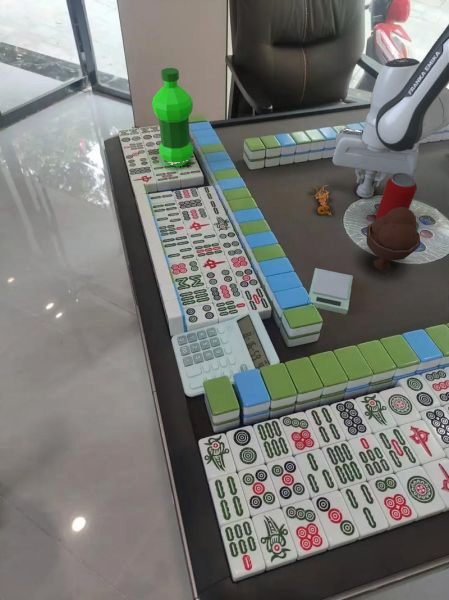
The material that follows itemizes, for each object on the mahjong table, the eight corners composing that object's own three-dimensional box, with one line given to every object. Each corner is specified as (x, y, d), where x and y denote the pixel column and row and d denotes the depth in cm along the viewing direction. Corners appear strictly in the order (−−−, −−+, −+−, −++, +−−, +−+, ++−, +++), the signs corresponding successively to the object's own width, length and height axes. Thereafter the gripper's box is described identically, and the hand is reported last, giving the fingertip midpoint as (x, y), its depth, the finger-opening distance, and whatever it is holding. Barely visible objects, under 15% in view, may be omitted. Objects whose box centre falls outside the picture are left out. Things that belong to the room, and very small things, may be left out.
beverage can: (404, 217, 108) (421, 175, 100) (400, 232, 104) (417, 190, 95) (377, 210, 110) (391, 168, 101) (372, 225, 106) (386, 182, 97)
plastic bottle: (152, 162, 125) (140, 70, 107) (180, 149, 130) (174, 60, 112) (173, 176, 120) (164, 82, 102) (202, 163, 125) (199, 71, 107)
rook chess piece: (375, 192, 115) (383, 165, 109) (369, 200, 113) (377, 173, 107) (359, 187, 117) (367, 160, 111) (353, 195, 114) (360, 168, 109)
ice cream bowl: (349, 253, 99) (366, 198, 88) (397, 251, 100) (419, 196, 89) (362, 286, 92) (382, 231, 81) (413, 283, 93) (440, 228, 82)
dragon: (314, 217, 108) (317, 205, 105) (310, 191, 116) (312, 179, 113) (332, 218, 108) (335, 205, 105) (326, 192, 116) (329, 180, 113)
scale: (350, 283, 93) (353, 273, 90) (345, 318, 86) (348, 307, 84) (313, 276, 94) (315, 265, 92) (305, 309, 88) (308, 298, 85)
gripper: (336, 133, 102) (326, 183, 113) (426, 145, 98) (407, 197, 109) (339, 121, 106) (329, 171, 117) (425, 132, 102) (407, 183, 113)
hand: (367, 183), depth 113 cm, fingers closed on rook chess piece, 3 cm apart
